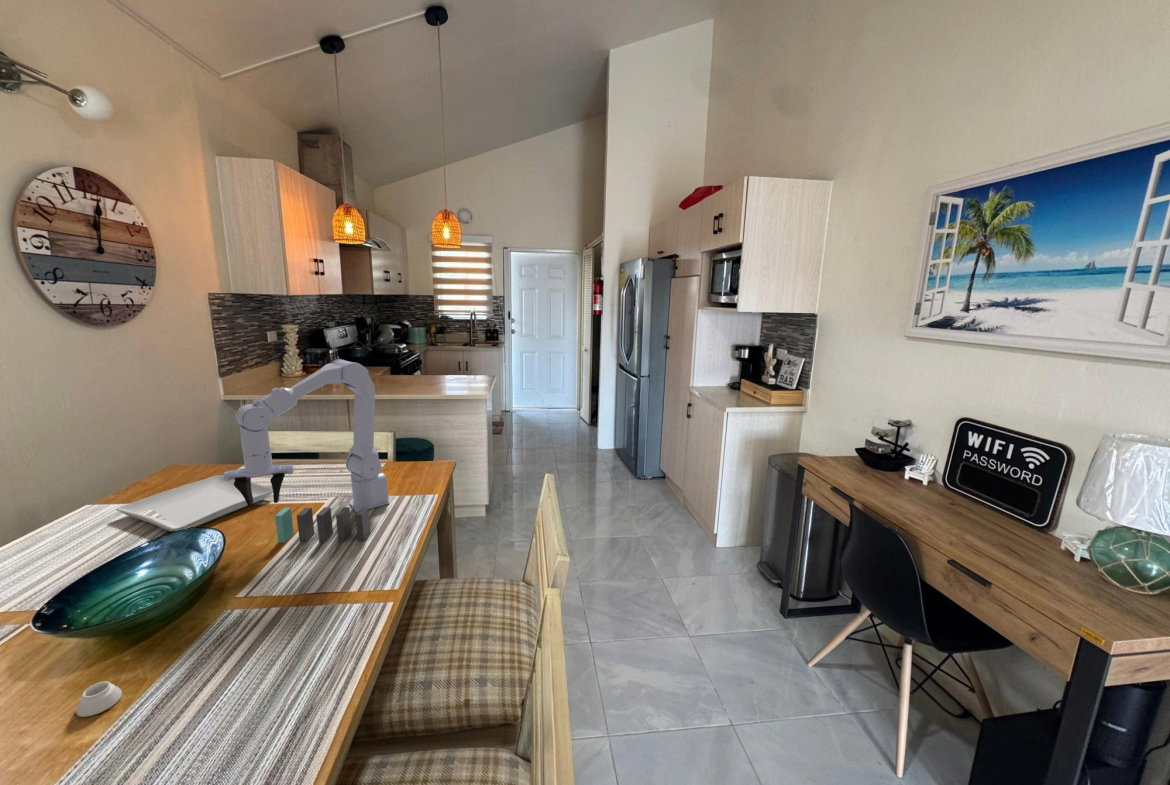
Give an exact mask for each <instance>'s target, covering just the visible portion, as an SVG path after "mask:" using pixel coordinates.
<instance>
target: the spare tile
mask: <svg viewBox="0 0 1170 785" xmlns="http://www.w3.org/2000/svg"><path fill="white" fill-rule="evenodd" d="M274 520H275V526H276V535H277V543H281V544H283V543H286V542H287V541H289V539H290V538H291V537H292V536H294V535H295V532H294V523H293V522H294V521H293V515H292V508H291V507H284V508H282V509H281V510H279V511H278V513H276V514H275V515H274Z"/></svg>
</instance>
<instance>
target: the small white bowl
mask: <svg viewBox="0 0 1170 785" xmlns="http://www.w3.org/2000/svg"><path fill="white" fill-rule="evenodd" d="M122 695H123V690H122V689H121V688H120V687H118V686H117V685H116V684H114V683H111V682H110V681H107V680H105V681H99V682H96V683H94V684H93V685H91V686H88V687H87V688H86V689H85V690H84V691H83V693H82V696H81V697H80V699H79V701H78V704H77V706H76V709H75V714H76V715H77V717H80V718H81V717H82V718H85V717H92V716H95V715H97V714H98V715H99V714H100V713H103V712H104V711H106V710H108V709H110V708H111V707H113V705H115V704H116V703H118V701H119V700H120V699H121V698H122V697H123V696H122Z"/></svg>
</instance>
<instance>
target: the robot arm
mask: <svg viewBox="0 0 1170 785" xmlns="http://www.w3.org/2000/svg"><path fill="white" fill-rule="evenodd" d="M325 385H345V386H346V387H347V388H348V389H349V390H350V391H352V392H353V393H354V397H353V399H354V400H353V402H354V404H353V445H352V446H351V447H350V448H349V453H348V456H347V458H346V461H345V467H346V469H347V470H348V471H349V472H350V479H351V492H352V500H350V501H349V502H348V503H349V505H350V506H351V508H352V509H353V510H354V511H355V513H357V512H358V511H359V510H360V509H361V508H362V507H368V510H371V509H375V508H377V507H382V506H386V505H388V503H389V504H390V500H389V488H388V480H387V476H386V474H385V473H384V472H381V471H382V464H381V461H380V459H379V458H380V457H379V452H378V451H377V449H376V447H375V445H374V444H375V442H374V440H375V438H374V437H375V407H376V405H375V404H376V402H375V401H376V398H375V397H376V386H375V384H374V382H373V381H372V379H371V376H370V375H369V369H367V368H366V367H365V366H363V365H362V364H361V363H358V362H353V361H350V360H349V361H348V360H345V359H340V358H339V359H335V360H333V361H332V362H331V363H327V364H325V365H323V366H322V367H321V368H319V369H318V370H316V371H315V372H313V373H312V374H310V375H308V376H306V377H305V378H304V379H302V380H301V381H299V382H297V383H295V384H294V385H293V386H291V387H283V386H282V387H279V388H278V387H274V388H272V389H271V392H270V393H269V394H266V395H264V396H263V397H260V399H256V398H255V399H253V400H252V403H253V404H252V403H250V404H248V403H247V404H244V405H242V406H240V407H239V408H238V409H237V411H236V412H235V416H233V419H234V422H235V423H236V424H237V425H238V426H239V433H240V442H241V448H242V449H241V450H242V456H243V463H244V465H243V466H244V468H242V467H241V468H239V469H233V470H226V471H224V473H222V474H223V476H224V481H230V480H232V479H235V482H234V486H235V487H236V488H237V489H238V490H239V491H240V493H241V494H242V495H243V497H244V499H245V500H246V503H247V505H248V506H247V507H252V506H253V504H254V503H253V496H252V491H251V483H252V482H251V480H252V478H260V477H269V476H271V477H270V480H269V481H270V484H271V488H272V489H273V493H272V496H273V503H274V504H279V501H280V493H281V488H282V484H283V481H284V478H285V476H286V475H293V474H294V472H295V469H294V464H273V459H272V450H271V441H270V435H269V428H268V427H269V425H270V424H271V422H272V420H274V419H276V418H277V417H279V416H281V415H283V414H285V413H286V412H288V411H289V410H291V409H293V408H294V407H296V406H297V405H298V400H299V399H300V398H302V397H304V396H306V395H308V394H309V393H312V392H314V391H316V390H318V389H319V388H322V387H324V386H325ZM385 504H386V505H385Z"/></svg>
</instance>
